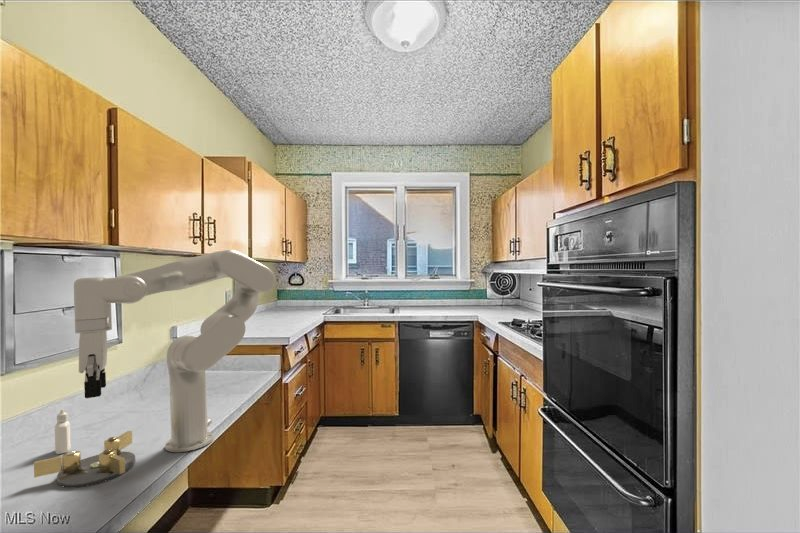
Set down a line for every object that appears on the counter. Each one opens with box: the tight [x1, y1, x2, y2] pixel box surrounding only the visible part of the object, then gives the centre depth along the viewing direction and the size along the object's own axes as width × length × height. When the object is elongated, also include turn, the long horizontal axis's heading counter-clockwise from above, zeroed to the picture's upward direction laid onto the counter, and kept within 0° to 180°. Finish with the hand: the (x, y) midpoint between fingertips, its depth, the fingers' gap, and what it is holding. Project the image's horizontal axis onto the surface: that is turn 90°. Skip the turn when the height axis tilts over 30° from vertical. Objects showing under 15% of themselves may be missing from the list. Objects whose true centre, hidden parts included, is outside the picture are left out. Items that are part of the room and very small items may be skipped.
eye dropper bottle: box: [54, 408, 72, 455], centre depth 117 cm, size 4×6×12 cm
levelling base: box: [56, 451, 136, 488], centre depth 104 cm, size 16×16×2 cm
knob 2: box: [103, 430, 133, 455], centre depth 112 cm, size 9×4×5 cm, turn 0°
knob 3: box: [98, 449, 126, 475], centre depth 100 cm, size 9×4×5 cm, turn 60°
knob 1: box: [33, 449, 82, 478], centre depth 100 cm, size 9×4×5 cm, turn 120°
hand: (95, 392), depth 103 cm, fingers open, 9 cm apart
